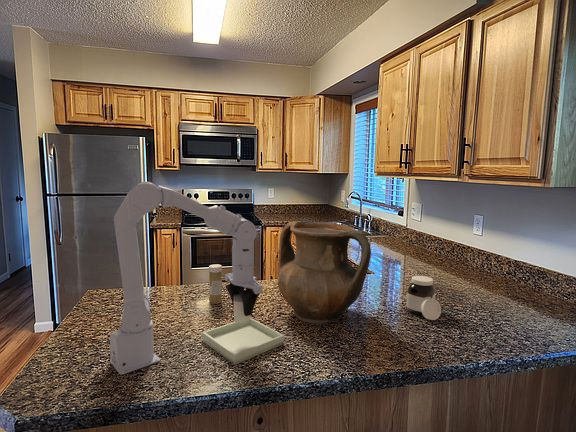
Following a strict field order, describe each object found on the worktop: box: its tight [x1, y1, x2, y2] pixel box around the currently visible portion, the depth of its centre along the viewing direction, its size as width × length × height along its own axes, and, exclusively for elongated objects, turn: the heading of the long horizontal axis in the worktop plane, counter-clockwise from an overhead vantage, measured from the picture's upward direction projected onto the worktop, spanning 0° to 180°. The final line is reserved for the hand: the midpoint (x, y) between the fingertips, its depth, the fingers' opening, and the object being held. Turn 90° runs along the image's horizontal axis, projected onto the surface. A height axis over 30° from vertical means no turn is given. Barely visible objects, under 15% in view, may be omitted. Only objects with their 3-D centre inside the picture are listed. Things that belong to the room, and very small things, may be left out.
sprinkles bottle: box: [208, 263, 223, 305], centre depth 127 cm, size 5×5×13 cm
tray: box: [201, 317, 285, 365], centre depth 98 cm, size 16×16×2 cm
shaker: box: [233, 293, 251, 324], centre depth 97 cm, size 4×4×7 cm
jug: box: [277, 221, 372, 325], centre depth 117 cm, size 32×28×30 cm
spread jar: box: [406, 275, 442, 321], centre depth 119 cm, size 12×11×12 cm
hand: (242, 312), depth 97 cm, fingers closed on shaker, 4 cm apart
